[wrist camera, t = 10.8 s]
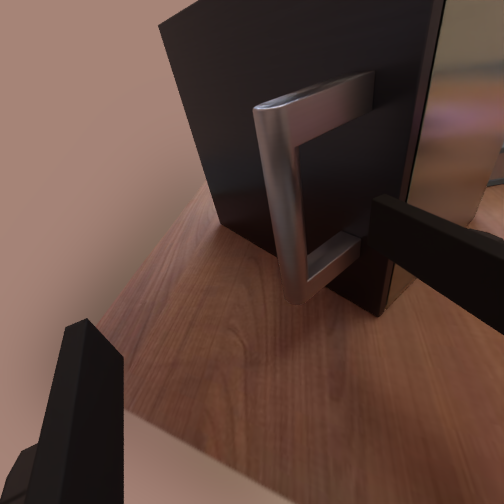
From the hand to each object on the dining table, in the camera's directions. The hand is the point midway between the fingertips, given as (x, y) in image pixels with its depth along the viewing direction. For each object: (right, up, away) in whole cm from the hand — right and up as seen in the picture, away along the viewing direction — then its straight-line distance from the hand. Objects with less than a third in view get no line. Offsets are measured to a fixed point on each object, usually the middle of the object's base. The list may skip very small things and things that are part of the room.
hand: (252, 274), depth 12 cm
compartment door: (+1, -1, +18) cm, 18 cm away
